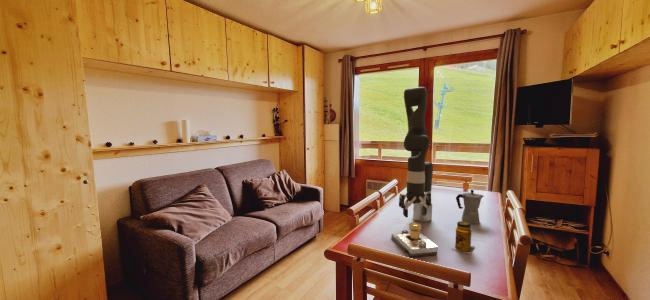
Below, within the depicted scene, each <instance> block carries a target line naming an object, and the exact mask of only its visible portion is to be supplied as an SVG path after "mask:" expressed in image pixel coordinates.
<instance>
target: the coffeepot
mask: <svg viewBox="0 0 650 300" xmlns="http://www.w3.org/2000/svg"><path fill="white" fill-rule="evenodd" d="M474 192H475V191H474V189H470V192H465V193H459V194H457V195H456V197H455V200H456V203H457V207H458V209H460V210H461V209H462V210H463V212H462V215H461V221H464V222H468V223H470V224H471V225H479V224H480V223H481V222H480V214H479V208H480V206H481V205H480V204H481V202H482V199H483V197H484V195H483V194H481V193H480V194H479V193H474ZM460 198H463V199H462V200H463V206H462V204H461V201H460V200H461V199H460Z"/></svg>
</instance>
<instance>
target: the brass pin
mask: <svg viewBox="0 0 650 300" xmlns="http://www.w3.org/2000/svg"><path fill="white" fill-rule="evenodd" d="M408 229H409V232H410V241H417V240H419V235H420V233H421V232H420V231H421V230H422V224H420V223H418V222H409V224H408Z"/></svg>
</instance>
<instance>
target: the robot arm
mask: <svg viewBox="0 0 650 300" xmlns="http://www.w3.org/2000/svg"><path fill="white" fill-rule="evenodd" d="M403 101H404V107H405V113H406V118H407V127H408V128H407V130H408V131H407V133H406V135H405V138H404V140H403V148H404V149H405V150H406V151H407V152H410V156H409V157H408V159H407V171H406V193H405V194H404V193H399V199H398V207H399V208H400V209H402V215H403V216H404V217H405V218H408V217H409V207H410V206H413V208H412V209H413V214H412V219H413V220H414V221H417V222H421V223H423V222H425V223H428V222H429V221H432V219H433V218H432V217H433V203H432V187H433V186H432V185H433V174H434V166H433V163H432V162H430V161H426V157H427V153H428V150H429V148H430V144H431V141H430V137H429V136H428V131H427V127H426V113H427V107H428V91H427V88H426V87H425V86H418V87H410V88H409V87H408V88H406V89H405V90H404V91H403ZM413 107H417V108H416V109H415V110H414V109H413Z"/></svg>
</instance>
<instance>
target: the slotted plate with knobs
mask: <svg viewBox="0 0 650 300" xmlns="http://www.w3.org/2000/svg"><path fill="white" fill-rule="evenodd" d="M391 240H393V241H394V242H395V243H396V244H397V246H399V247H400V248H401V249H402V251H404V253H408V257H409V258H414V257H415V258H416V257H424V256H425V257H426V256H434V255H435V256H436V255H437V254H438V252H439V246H438V245H437V244H435V242H433V241H432V240H431V239H429V238H428V237H427V236H425V235H424V234H422V232H420V235H419V240H417V241H410V231H408V230H404V229H403V230H401V232H400V233H399V232H398V233H391Z"/></svg>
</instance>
